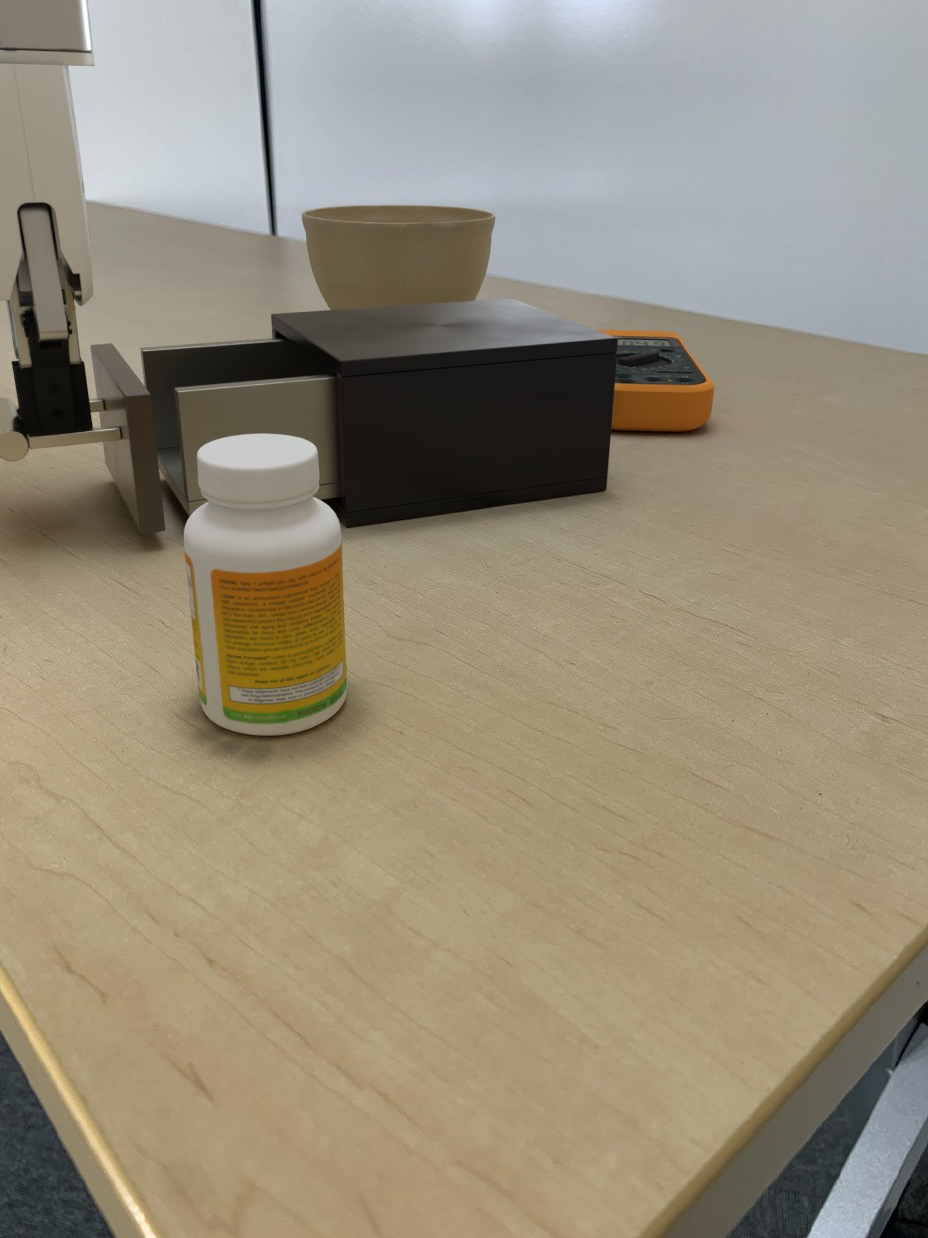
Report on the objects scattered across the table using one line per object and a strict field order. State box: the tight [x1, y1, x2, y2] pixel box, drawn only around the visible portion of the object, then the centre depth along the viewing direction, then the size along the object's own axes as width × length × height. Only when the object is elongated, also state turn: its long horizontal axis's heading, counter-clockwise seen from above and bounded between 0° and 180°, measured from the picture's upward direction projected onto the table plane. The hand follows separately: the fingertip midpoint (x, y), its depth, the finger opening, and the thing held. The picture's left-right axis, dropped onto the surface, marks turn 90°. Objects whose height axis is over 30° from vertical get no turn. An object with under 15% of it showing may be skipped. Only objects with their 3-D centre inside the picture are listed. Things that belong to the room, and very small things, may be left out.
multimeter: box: [596, 329, 715, 433], centre depth 80 cm, size 9×18×3 cm, turn 179°
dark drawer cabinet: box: [270, 297, 618, 528], centre depth 63 cm, size 16×13×9 cm
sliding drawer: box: [0, 337, 341, 535], centre depth 58 cm, size 20×11×7 cm, turn 114°
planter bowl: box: [301, 204, 496, 310], centre depth 94 cm, size 16×16×11 cm
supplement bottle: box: [183, 434, 348, 736], centre depth 39 cm, size 5×5×10 cm
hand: (59, 440), depth 55 cm, fingers closed
